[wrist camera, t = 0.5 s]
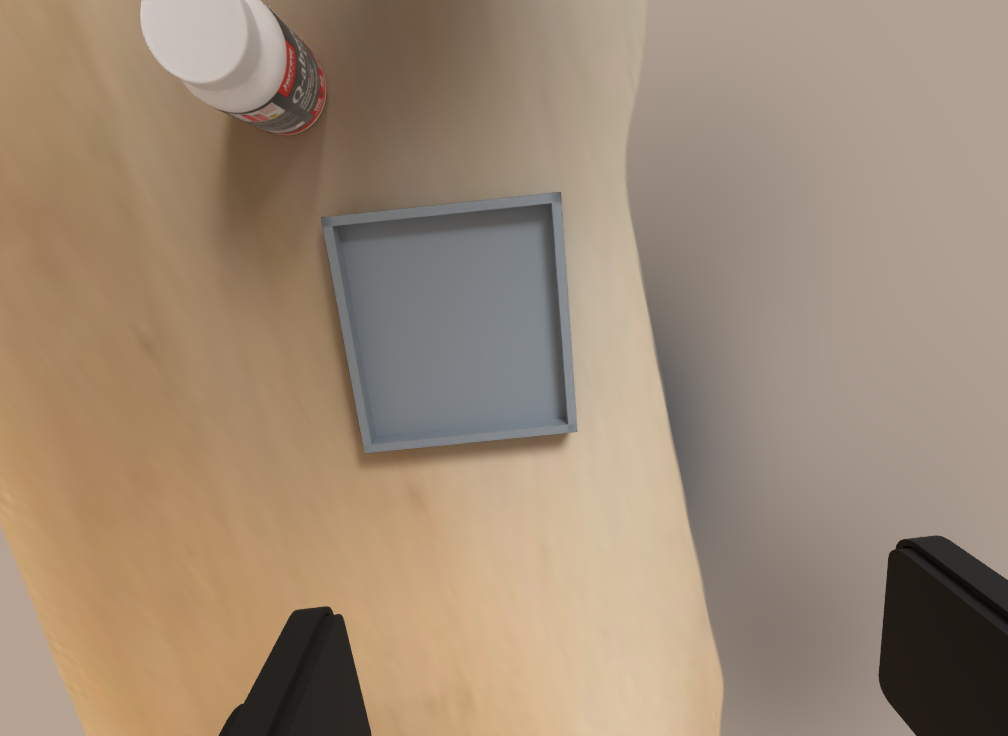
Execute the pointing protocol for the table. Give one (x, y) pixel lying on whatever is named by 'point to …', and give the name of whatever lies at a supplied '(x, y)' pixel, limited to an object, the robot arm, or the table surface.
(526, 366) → the slate tray
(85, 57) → the table surface
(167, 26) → the pill bottle
